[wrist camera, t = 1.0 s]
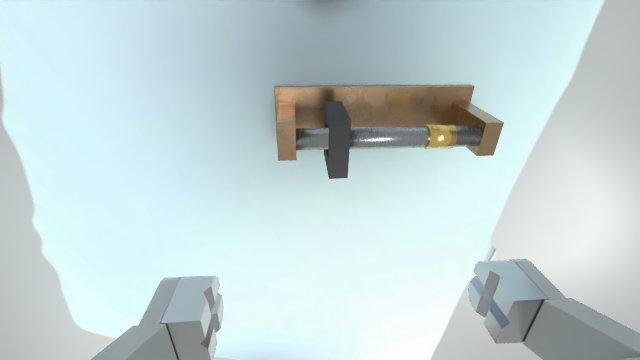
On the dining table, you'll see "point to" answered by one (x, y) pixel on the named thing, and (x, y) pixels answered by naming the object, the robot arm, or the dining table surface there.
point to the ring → (337, 139)
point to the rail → (385, 118)
